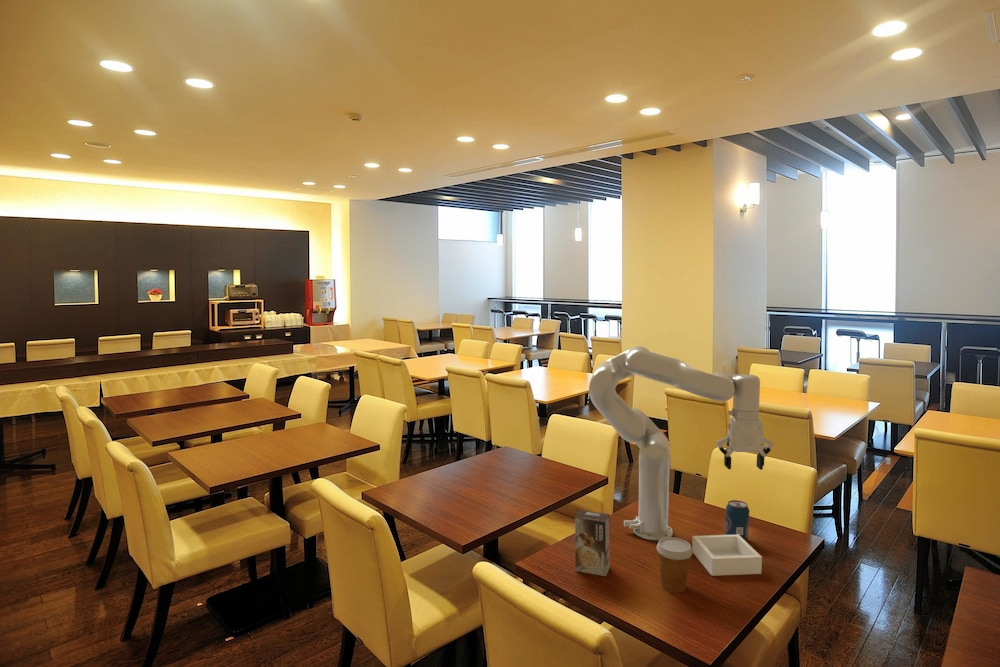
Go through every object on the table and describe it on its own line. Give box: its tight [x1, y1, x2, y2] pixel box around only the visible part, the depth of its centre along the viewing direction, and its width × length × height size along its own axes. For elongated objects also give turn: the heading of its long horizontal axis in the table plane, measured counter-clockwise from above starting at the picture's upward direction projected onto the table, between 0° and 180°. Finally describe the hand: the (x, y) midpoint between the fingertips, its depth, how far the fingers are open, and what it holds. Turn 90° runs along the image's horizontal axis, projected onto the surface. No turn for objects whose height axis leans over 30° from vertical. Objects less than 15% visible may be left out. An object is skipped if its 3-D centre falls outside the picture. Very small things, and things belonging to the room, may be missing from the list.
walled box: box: [691, 534, 763, 577], centre depth 173 cm, size 14×14×5 cm
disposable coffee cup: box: [656, 537, 694, 593], centre depth 159 cm, size 10×10×12 cm
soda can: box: [724, 499, 750, 542], centre depth 187 cm, size 7×7×12 cm
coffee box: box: [574, 509, 610, 577], centre depth 169 cm, size 9×6×16 cm
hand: (743, 468), depth 183 cm, fingers open, 9 cm apart
